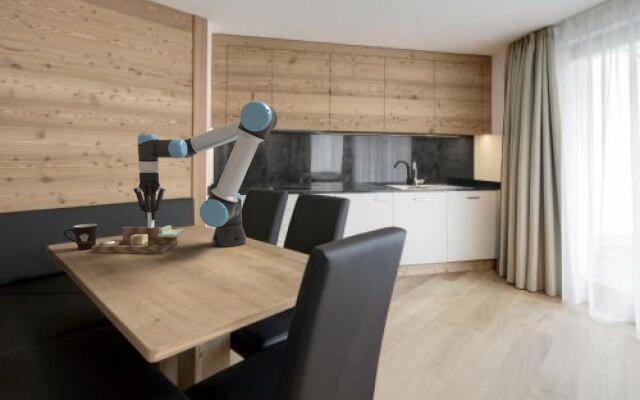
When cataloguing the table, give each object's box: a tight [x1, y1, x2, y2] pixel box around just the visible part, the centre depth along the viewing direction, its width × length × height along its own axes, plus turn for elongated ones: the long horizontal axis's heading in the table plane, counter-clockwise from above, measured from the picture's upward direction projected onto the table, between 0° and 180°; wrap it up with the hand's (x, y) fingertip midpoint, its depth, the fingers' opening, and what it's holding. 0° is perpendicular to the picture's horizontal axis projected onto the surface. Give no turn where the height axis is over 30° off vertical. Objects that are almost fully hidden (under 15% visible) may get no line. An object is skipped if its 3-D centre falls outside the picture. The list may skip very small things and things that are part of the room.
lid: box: [158, 224, 186, 237], centre depth 165 cm, size 7×11×3 cm, turn 178°
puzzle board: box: [91, 226, 178, 254], centre depth 166 cm, size 30×14×8 cm, turn 88°
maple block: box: [130, 234, 148, 245], centre depth 166 cm, size 5×5×6 cm
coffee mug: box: [63, 223, 98, 251], centre depth 167 cm, size 12×9×10 cm
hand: (151, 227), depth 165 cm, fingers closed
